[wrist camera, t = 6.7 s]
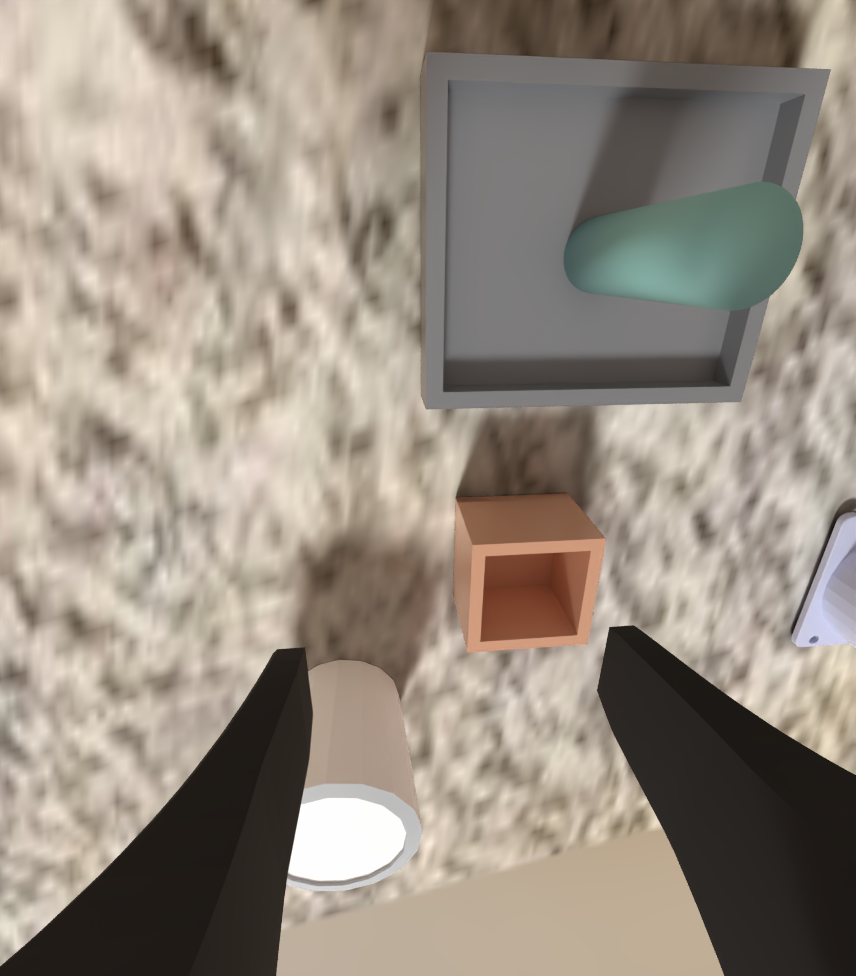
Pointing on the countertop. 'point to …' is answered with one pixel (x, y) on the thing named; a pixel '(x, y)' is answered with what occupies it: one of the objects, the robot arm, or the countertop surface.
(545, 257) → the tray
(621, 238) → the pin
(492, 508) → the open box
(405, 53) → the countertop surface
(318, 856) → the white short cylinder
